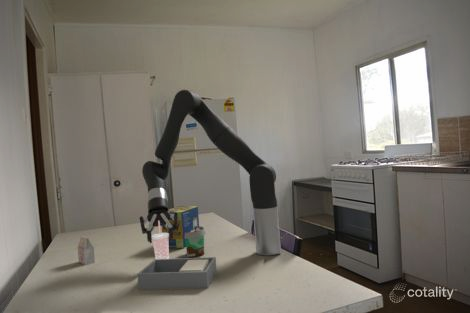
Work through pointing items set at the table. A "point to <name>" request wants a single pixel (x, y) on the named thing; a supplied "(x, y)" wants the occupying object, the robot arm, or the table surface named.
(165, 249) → the beverage cup
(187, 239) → the food container
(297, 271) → the table surface
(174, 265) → the tray
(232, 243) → the table surface
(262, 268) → the table surface
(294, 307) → the table surface
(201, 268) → the beige rectangular block
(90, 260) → the small milk carton
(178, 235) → the protein box
